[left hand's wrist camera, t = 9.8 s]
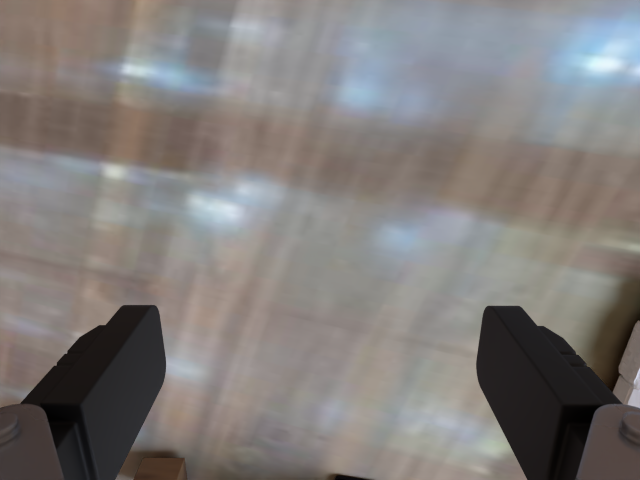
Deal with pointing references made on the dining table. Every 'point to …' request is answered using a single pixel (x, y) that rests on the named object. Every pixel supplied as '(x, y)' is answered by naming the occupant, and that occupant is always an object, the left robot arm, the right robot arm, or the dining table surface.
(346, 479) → the right robot arm
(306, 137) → the dining table surface
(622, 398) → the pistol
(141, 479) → the brick
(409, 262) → the dining table surface
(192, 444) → the dining table surface
